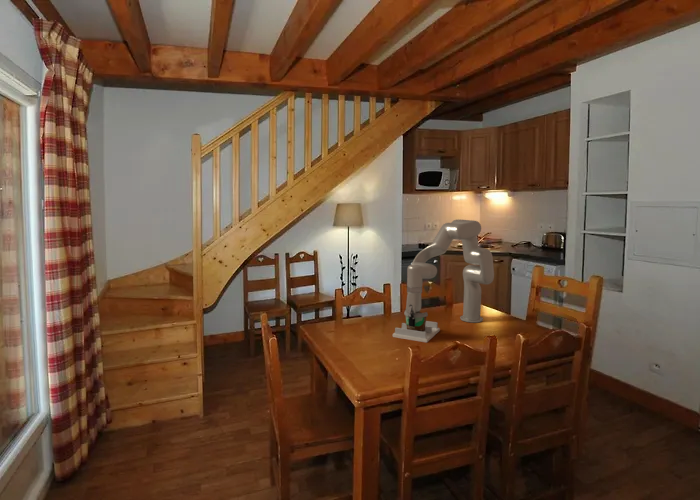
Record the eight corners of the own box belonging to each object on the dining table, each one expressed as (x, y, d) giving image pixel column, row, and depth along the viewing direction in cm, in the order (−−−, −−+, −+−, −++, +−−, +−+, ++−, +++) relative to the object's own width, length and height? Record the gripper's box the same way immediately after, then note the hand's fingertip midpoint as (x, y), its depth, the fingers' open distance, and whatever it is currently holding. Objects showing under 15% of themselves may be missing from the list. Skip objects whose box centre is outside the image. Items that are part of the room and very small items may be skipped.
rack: (407, 325, 246) (407, 317, 245) (439, 330, 237) (439, 322, 237) (392, 336, 227) (392, 328, 227) (426, 342, 219) (427, 333, 218)
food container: (400, 330, 228) (400, 311, 227) (404, 327, 233) (405, 308, 232) (423, 334, 222) (424, 314, 221) (427, 330, 228) (428, 311, 226)
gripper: (413, 285, 234) (413, 319, 237) (401, 292, 219) (400, 327, 222) (427, 287, 231) (426, 320, 233) (415, 293, 216) (415, 330, 218)
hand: (414, 324), depth 227 cm, fingers closed on food container, 6 cm apart
